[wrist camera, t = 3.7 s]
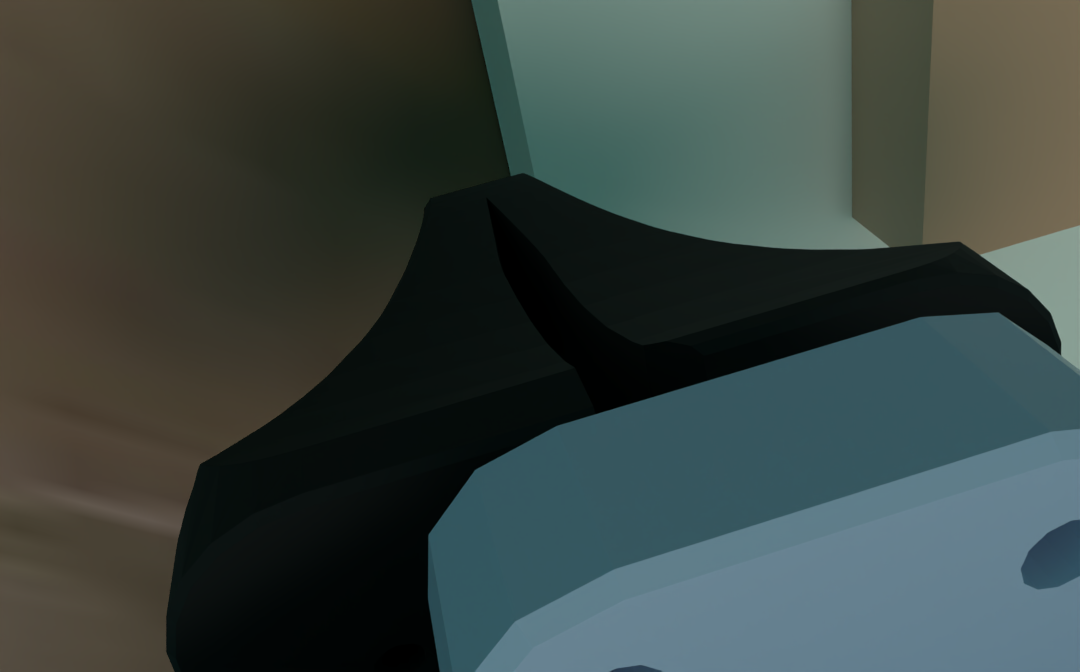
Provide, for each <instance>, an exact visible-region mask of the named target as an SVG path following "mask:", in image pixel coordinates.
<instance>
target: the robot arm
mask: <svg viewBox="0 0 1080 672" xmlns="http://www.w3.org/2000/svg"><path fill="white" fill-rule="evenodd" d="M166 652H167V655H168V657H169V659H170V662H171V664H172V666H173V669H174V671H175V672H1080V370H1079V369H1078V368H1076V367H1075V366H1074V365H1072V364H1071V363H1070V362H1069V361H1067V360H1066V359H1065V358H1063V357H1062V356H1061V340H1060V337H1059V335H1058V332H1057V329H1056V326H1055V324H1054V321H1053V318H1052V315H1051V313H1050V312H1049V311H1048V310H1047V309H1046V307H1045V306H1044V305H1043V304H1042V303H1041V302H1040V301H1039V300H1038V299H1037V298H1036V297H1035V296H1034V295H1033V294H1032V293H1031V292H1030V290H1028V289H1027V288H1026V287H1024V286H1023V285H1021V284H1020V283H1019V282H1017V281H1016V280H1014V279H1013V278H1011V277H1010V276H1009V275H1007V274H1006V273H1004V272H1003V271H1002V270H1000V269H999V268H997V267H996V266H995V265H993V264H992V263H990V262H989V261H987V260H986V259H985V258H983V257H982V256H980V255H979V254H978V253H976V252H975V251H973V250H972V249H970V248H969V247H967V246H966V245H964V244H963V243H961V242H959V241H958V242H946V243H934V244H923V245H911V246H899V247H887V248H875V249H788V248H772V247H762V246H753V245H743V244H733V243H727V242H720V241H714V240H708V239H703V238H699V237H694V236H689V235H685V234H680V233H676V232H671V231H667V230H663V229H660V228H656V227H653V226H649V225H646V224H643V223H640V222H637V221H634V220H631V219H629V218H626V217H623V216H620V215H617V214H614V213H612V212H609V211H607V210H604V209H602V208H599V207H597V206H594V205H592V204H590V203H587V202H585V201H583V200H581V199H578V198H576V197H574V196H572V195H570V194H567V193H565V192H563V191H561V190H559V189H557V188H555V187H553V186H551V185H549V184H547V183H545V182H543V181H541V180H539V179H536V178H534V177H532V176H530V175H528V174H525V173H521V174H517V175H513V176H510V177H506V178H502V179H499V180H495V181H491V182H488V183H484V184H480V185H477V186H473V187H470V188H466V189H462V190H459V191H455V192H451V193H448V194H444V195H440V196H437V197H433V198H430V200H429V202H428V203H427V205H426V207H425V208H424V217H423V222H422V226H421V229H420V233H419V236H418V239H417V242H416V245H415V247H414V250H413V252H412V255H411V257H410V260H409V263H408V265H407V267H406V270H405V272H404V274H403V276H402V278H401V280H400V282H399V284H398V286H397V288H396V289H395V291H394V293H393V295H392V297H391V299H390V301H389V303H388V305H387V306H386V308H385V309H384V311H383V313H382V314H381V316H380V317H379V319H378V320H377V321H376V323H375V324H374V325H373V327H372V328H371V330H370V331H369V332H368V333H367V335H366V336H365V337H364V338H363V339H362V341H361V342H360V343H359V344H358V345H357V346H356V347H355V348H354V349H353V350H352V351H351V352H350V353H349V354H348V355H347V356H346V357H345V358H344V359H343V361H342V362H341V363H340V364H339V365H338V366H337V367H336V368H335V369H334V370H333V371H332V372H331V373H330V374H329V375H328V376H327V377H326V378H325V379H324V380H323V381H321V382H320V383H319V384H318V385H317V386H315V387H314V388H313V389H312V390H311V391H310V392H308V393H307V394H306V395H305V396H304V397H302V398H301V399H300V400H299V401H297V402H296V403H295V404H293V405H292V406H291V407H289V408H288V409H287V410H285V411H284V412H283V413H282V414H280V415H279V416H277V417H276V418H274V419H273V420H272V421H270V422H269V423H267V424H266V425H264V426H263V427H261V428H260V429H258V430H256V431H255V432H253V433H251V434H250V435H248V436H247V437H245V438H243V439H242V440H240V441H239V442H237V443H235V444H234V445H232V446H230V447H229V448H227V449H226V450H224V451H222V452H221V453H219V454H217V455H216V456H214V457H212V458H210V459H209V460H207V461H205V462H203V463H201V464H200V466H199V469H198V472H197V476H196V480H195V483H194V487H193V490H192V493H191V496H190V499H189V502H188V504H187V507H186V511H185V515H184V519H183V523H182V527H181V530H180V534H179V538H178V543H177V549H176V555H175V562H174V569H173V576H172V582H171V589H170V596H169V602H168V609H167V616H166Z"/></svg>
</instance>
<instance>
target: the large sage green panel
mask: <svg viewBox="0 0 1080 672" xmlns="http://www.w3.org/2000/svg"><path fill="white" fill-rule="evenodd" d="M471 1H472V5H473V10H474V14H475V19H476V23H477V28H478V32H479V36H480V41H481V45H482V50H483V54H484V59H485V63H486V68H487V72H488V76H489V81H490V85H491V90H492V94H493V99H494V103H495V108H496V112H497V116H498V121H499V125H500V130H501V134H502V139H503V143H504V148H505V152H506V156H507V161H508V165H509V170H510V174H511V176H513V175H517V174H521V173H525V174H528V175H530V176H532V177H534V178H536V179H539V180H541V181H543V182H545V183H547V184H549V185H551V186H553V187H555V188H557V189H559V190H561V191H563V192H565V193H567V194H570V195H572V196H574V197H576V198H578V199H581V200H583V201H585V202H587V203H590V204H592V205H594V206H597V207H599V208H602V209H604V210H607V211H609V212H612V213H614V214H617V215H620V216H623V217H626V218H629V219H631V220H634V221H637V222H640V223H643V224H646V225H649V226H653V227H656V228H660V229H663V230H667V231H671V232H676V233H680V234H685V235H689V236H694V237H699V238H703V239H708V240H714V241H720V242H727V243H733V244H743V245H753V246H762V247H772V248H788V249H875V248H887V247H889V246H888V245H886V244H885V243H884V242H883V241H881V240H880V239H879V238H878V237H876V236H875V235H874V234H873V233H871V232H870V231H869V230H868V229H866V228H865V227H864V226H863V225H861V224H860V223H859V222H857V221H856V220H855V219H854V218H852V14H851V0H471ZM980 256H982V257H983V258H985V259H986V260H987V261H989V262H990V263H992V264H993V265H995V266H996V267H997V268H999V269H1000V270H1002V271H1003V272H1004V273H1006V274H1007V275H1009V276H1010V277H1011V278H1013V279H1014V280H1016V281H1017V282H1019V283H1020V284H1021V285H1023V286H1024V287H1026V288H1027V289H1028V290H1030V292H1031V293H1032V294H1033V295H1034V296H1035V297H1036V298H1037V299H1038V300H1039V301H1040V302H1041V303H1042V304H1043V305H1044V306H1045V307H1046V309H1047V310H1048V311H1049V312H1050V313H1051V315H1052V318H1053V321H1054V324H1055V326H1056V329H1057V332H1058V335H1059V337H1060V340H1061V356H1062V357H1063V358H1065V359H1066V360H1067V361H1069V362H1070V363H1071V364H1072V365H1074V366H1075V367H1076V368H1078V369H1079V370H1080V225H1079V226H1076V227H1072V228H1069V229H1065V230H1062V231H1059V232H1055V233H1052V234H1048V235H1045V236H1042V237H1038V238H1035V239H1032V240H1028V241H1025V242H1021V243H1018V244H1015V245H1011V246H1008V247H1004V248H1001V249H998V250H994V251H991V252H988V253H984V254H981V255H980Z"/></svg>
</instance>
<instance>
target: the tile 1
mask: <svg viewBox="0 0 1080 672" xmlns="http://www.w3.org/2000/svg"><path fill="white" fill-rule="evenodd" d="M851 14H852V218H854V219H855V220H856V221H857V222H859V223H860V224H861V225H863V226H864V227H865V228H866V229H868V230H869V231H870V232H871V233H873V234H874V235H875V236H876V237H878V238H879V239H880V240H881V241H883V242H884V243H885V244H886V245H888V246H889V247H899V246H911V245H923V244H934V243H946V242H958V241H959V242H961V243H963V244H964V245H966V246H967V247H969V248H970V249H972V250H973V251H975V252H976V253H978V254H979V255H981V254H984V253H988V252H991V251H994V250H998V249H1001V248H1004V247H1008V246H1011V245H1015V244H1018V243H1021V242H1025V241H1028V240H1032V239H1035V238H1038V237H1042V236H1045V235H1048V234H1052V233H1055V232H1059V231H1062V230H1065V229H1069V228H1072V227H1076V226H1079V225H1080V0H851Z"/></svg>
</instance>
